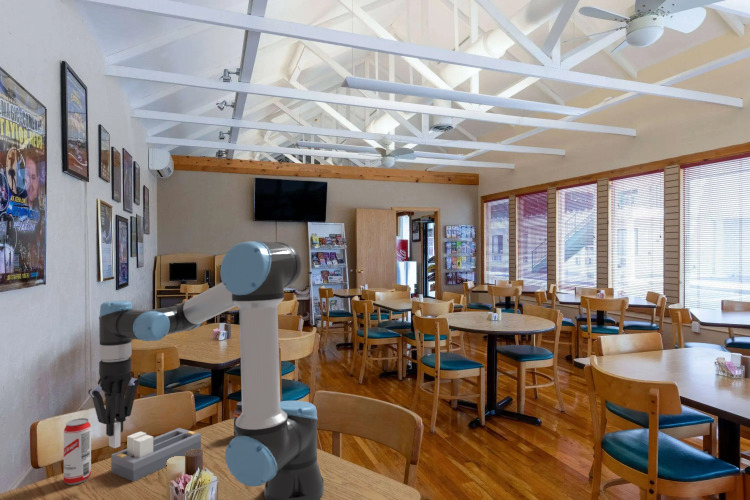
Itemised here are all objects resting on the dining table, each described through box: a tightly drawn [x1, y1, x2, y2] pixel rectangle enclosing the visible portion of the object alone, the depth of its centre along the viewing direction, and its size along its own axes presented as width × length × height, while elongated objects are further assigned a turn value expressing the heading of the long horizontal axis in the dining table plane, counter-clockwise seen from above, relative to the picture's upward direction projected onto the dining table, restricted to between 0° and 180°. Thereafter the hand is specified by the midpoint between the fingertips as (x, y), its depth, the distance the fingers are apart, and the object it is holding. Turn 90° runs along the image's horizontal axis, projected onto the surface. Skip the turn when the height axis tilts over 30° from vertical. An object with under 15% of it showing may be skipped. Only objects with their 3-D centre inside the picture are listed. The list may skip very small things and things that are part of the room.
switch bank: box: [110, 427, 202, 482], centre depth 133 cm, size 10×22×5 cm, turn 151°
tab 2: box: [134, 434, 154, 459], centre depth 126 cm, size 3×4×6 cm
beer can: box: [63, 417, 92, 486], centre depth 121 cm, size 6×6×16 cm
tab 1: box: [126, 431, 147, 456], centre depth 129 cm, size 3×4×6 cm
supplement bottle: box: [233, 400, 242, 438], centre depth 150 cm, size 6×6×11 cm
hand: (114, 446), depth 120 cm, fingers closed
